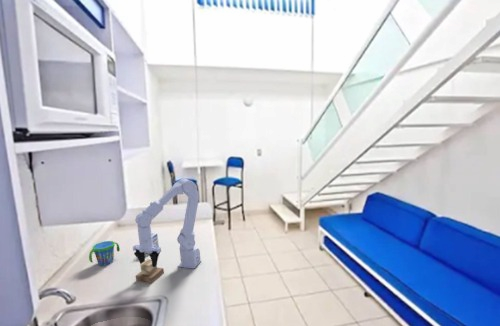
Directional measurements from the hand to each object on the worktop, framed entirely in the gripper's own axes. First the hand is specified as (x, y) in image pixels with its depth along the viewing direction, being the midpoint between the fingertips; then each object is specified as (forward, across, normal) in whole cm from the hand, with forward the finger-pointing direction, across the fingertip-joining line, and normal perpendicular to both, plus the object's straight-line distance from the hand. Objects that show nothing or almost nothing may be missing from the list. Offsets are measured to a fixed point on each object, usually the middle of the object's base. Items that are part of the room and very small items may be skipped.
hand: (148, 265), depth 137 cm
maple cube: (+3, 0, 0) cm, 3 cm away
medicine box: (+6, -18, +25) cm, 31 cm away
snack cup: (+6, -34, +7) cm, 35 cm away
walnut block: (+6, 0, 0) cm, 6 cm away
